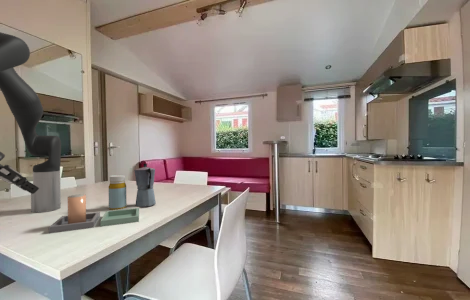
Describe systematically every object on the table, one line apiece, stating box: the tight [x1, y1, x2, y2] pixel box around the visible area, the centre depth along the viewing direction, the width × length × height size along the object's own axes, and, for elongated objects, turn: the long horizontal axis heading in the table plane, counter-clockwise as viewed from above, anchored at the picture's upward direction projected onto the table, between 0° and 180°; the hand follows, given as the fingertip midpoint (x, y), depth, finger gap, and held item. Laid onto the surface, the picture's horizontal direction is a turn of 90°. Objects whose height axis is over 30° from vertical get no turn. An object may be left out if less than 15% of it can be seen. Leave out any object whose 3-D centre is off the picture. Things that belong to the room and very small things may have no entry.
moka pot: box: [133, 163, 156, 208], centre depth 102 cm, size 10×15×20 cm, turn 43°
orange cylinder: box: [67, 193, 87, 224], centre depth 76 cm, size 5×5×10 cm
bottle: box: [108, 174, 127, 211], centre depth 97 cm, size 7×7×15 cm
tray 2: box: [100, 207, 140, 227], centre depth 81 cm, size 12×12×2 cm
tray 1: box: [48, 211, 101, 234], centre depth 76 cm, size 12×12×2 cm
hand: (32, 189), depth 66 cm, fingers open, 8 cm apart
